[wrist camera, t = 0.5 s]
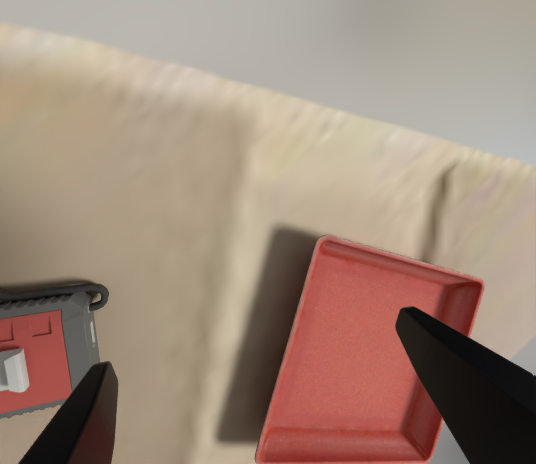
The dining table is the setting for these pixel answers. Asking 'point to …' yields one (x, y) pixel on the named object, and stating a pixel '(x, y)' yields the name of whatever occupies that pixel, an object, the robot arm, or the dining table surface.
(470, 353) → the robot arm
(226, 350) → the dining table surface
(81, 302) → the walkie-talkie
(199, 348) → the dining table surface
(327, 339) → the plant saucer
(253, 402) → the dining table surface
